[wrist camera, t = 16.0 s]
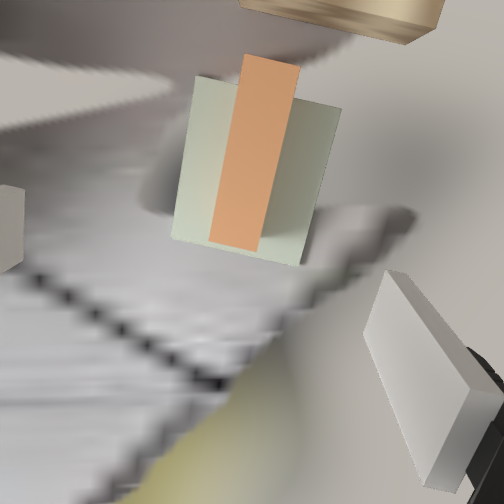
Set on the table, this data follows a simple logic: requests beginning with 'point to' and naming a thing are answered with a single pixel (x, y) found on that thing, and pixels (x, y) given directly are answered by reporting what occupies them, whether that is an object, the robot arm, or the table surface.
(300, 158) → the mat
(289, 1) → the frame
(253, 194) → the bar
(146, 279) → the table surface
